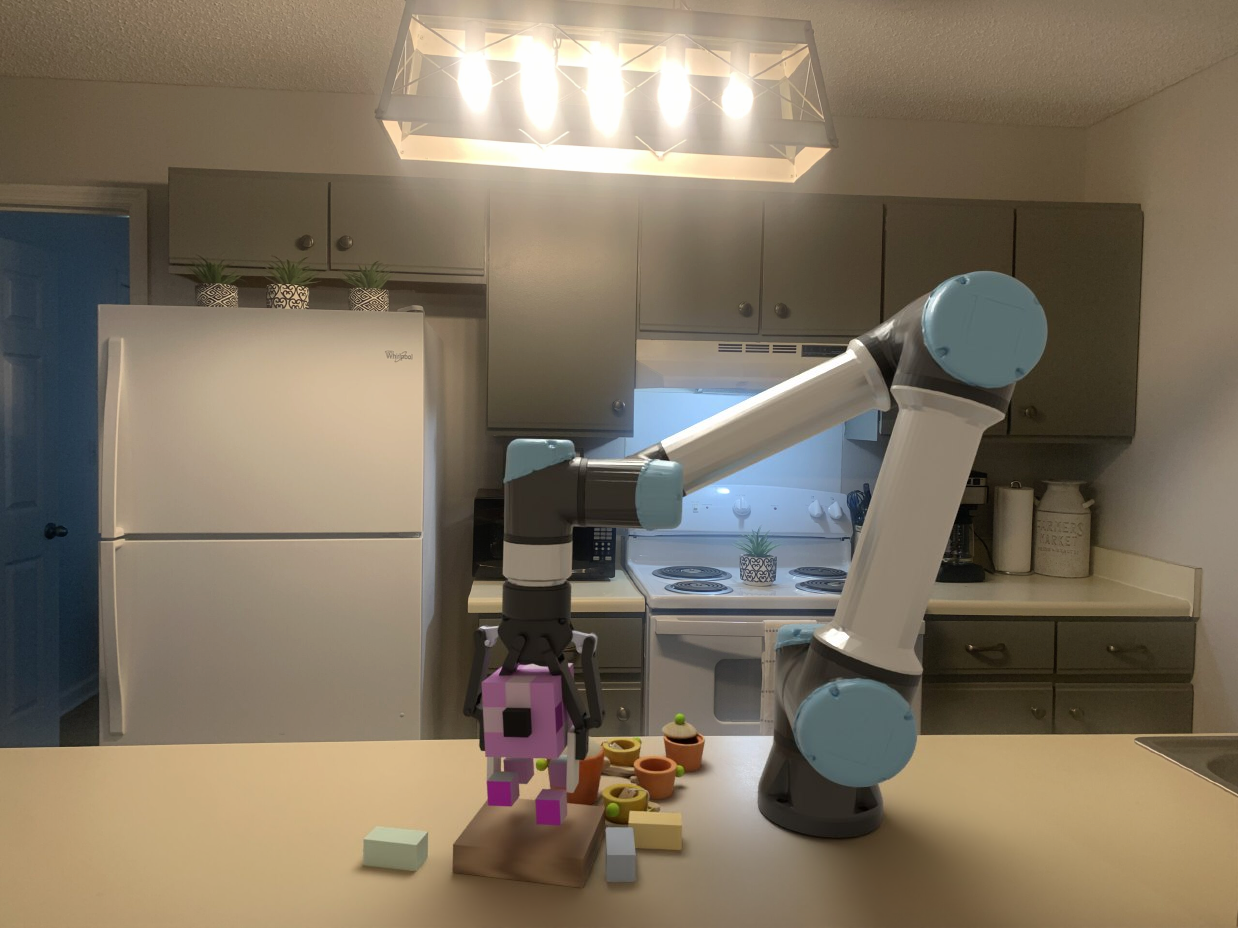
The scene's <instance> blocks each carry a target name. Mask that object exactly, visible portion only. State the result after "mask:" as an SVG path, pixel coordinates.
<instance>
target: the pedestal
mask: <svg viewBox="0 0 1238 928" xmlns="http://www.w3.org/2000/svg"><path fill="white" fill-rule="evenodd" d="M601 806H602V805H599V806H598V805H592V804H591V805H581V804H571V803H567V816H566V817H565V819H564V821H563V823H562V824H561V825H541V824H536V804H535V799H530V798H520V797H519V798H518V799H517V800H516V802H515V803H514V804H513V806H512V807H508V806H488V798H487V799H486V800H485V802H484V803H483V804H482V806H481V808H480V809H479V810H478V811H477V812H476V813H475V815H474V816H473V818H472V819H471V820H470V821H469V823H468V824H467V825H466V827H465V828H463V829H464V830H462V832H461V833H460V835H459V836H458V837H457V839H456V840H455V841H453V844H452V873H454V874H463V875H470V876H471V875H472V876H480V877H485V878H486V877H487V878H496V879H505V880H512V881H520V882H521V881H522V882H530V883H539V884H546V885H555V886H556V885H557V886H563V887H571V888H573V887H574V888H582V889H583V887H584V885H585V883H586V880H587V878H588V875H589V873H590V871H591V869H592V866H593V862H594V861H595V858H596V856H597V853H598V850H599V848H600V845H601V843H602V841H603V839H604V835H606V826H605V807H601Z"/></svg>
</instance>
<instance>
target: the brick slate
mask: <svg viewBox="0 0 1238 928" xmlns="http://www.w3.org/2000/svg"><path fill="white" fill-rule="evenodd" d="M636 857H637V856H636V848H635V843H634V834H633V827H606V826H605V874H606V875H605V877H606V878H605V879H606V881H605V882H607V883H608V882H610V883H615V882H617V883H618V882H621V883H623V882H625V883H626V882H631V883H632V882H633V883H634V882H636V863H637V862H636V861H637V860H636V859H637V858H636Z"/></svg>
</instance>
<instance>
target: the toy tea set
mask: <svg viewBox="0 0 1238 928" xmlns="http://www.w3.org/2000/svg"><path fill="white" fill-rule="evenodd" d="M661 733H662V734H663V743H664V751H665V756H661V755H647V756H643V757H640V755H641V747H642V739H641V738H640V737H638V736H634V737H633V738H631V737H624V736H623V737H612V738H609V739H606V740H602V742H601V744H600V743H599V742H597V740H595V739H594V738H592V736H589V750H588V754H587V756H586V758H585V759H584V761H583V760H579V783H578V785H577V787H576V789H575V790H574V792H573V793H569V792H566V795H567V803H571V804H581V805H591V806H592V805H593V804H594V803H596V801H597V799H598V796H599V788H600V783H601V777H602V773H603V774H605V775H609V776H611V777H629V781H630V783H616V784H615V783H614V784H611V785H608V786H606V787H605V788H603V790H602V791H601V792H602V794H601V797H602V805H600V806H601V807H605V828H606V827H628V823H629V813H630V811H644V812H661V805H660V804H659V803H656V802H653V801H650V799H654V800H661V799H667V798H668V797H670V796H671V795H673V792H674V787H675V782H676V778H681V777H683V776H684V774H685V773H686V772H687V773H688V772H693V771H698V769H700V768H701V764H702V760H703V754H704V748H705V742H706V738H705V736H704V735H702V734H701V733H699V732H698V731H697V729H696V728H695V727H694V725H692V724H690V723H688V722H686V718H685V715H684V714H683V713H677V714H676V715H675V717H674V720H673V721H671V722H668V723H667V724H665V725H664V726H663V727H662V728H661ZM561 755H567V747H566V748H565V749H564V751H563V752H562V753H561ZM551 760H552V759H542V758H538V760H536V762H535V768H536V770H537V771H539V772H544V771H545V770H546V769H547V773H548V775H549V762H550V761H551ZM548 781H549V783H550V779H549V778H548ZM549 787H550V786H549ZM549 789H560V790H566V787H550V788H549Z"/></svg>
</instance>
